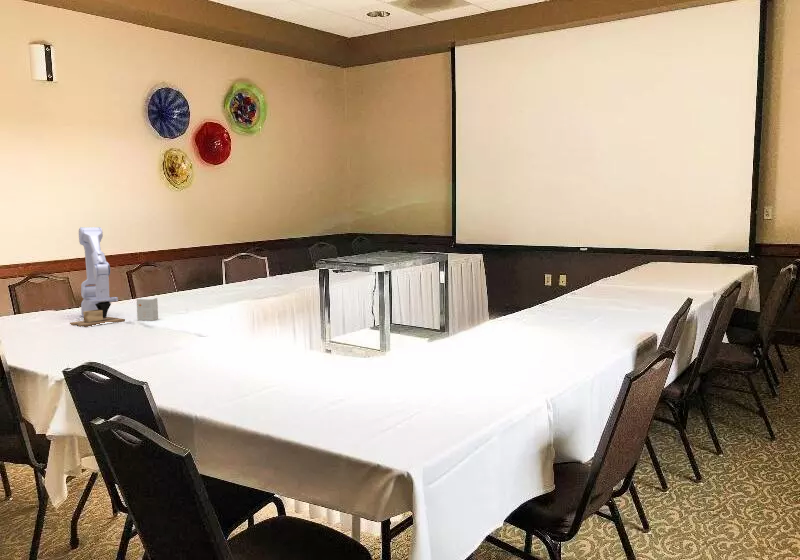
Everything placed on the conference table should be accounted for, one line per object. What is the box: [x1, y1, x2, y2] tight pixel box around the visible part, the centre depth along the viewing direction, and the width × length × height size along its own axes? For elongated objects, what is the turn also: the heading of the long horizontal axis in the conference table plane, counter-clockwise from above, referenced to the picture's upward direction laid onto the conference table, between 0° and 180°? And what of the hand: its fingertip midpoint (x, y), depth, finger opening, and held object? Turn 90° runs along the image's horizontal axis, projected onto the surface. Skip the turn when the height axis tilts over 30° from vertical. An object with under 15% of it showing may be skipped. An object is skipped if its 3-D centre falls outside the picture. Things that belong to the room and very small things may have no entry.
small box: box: [136, 297, 159, 322], centre depth 315 cm, size 8×6×10 cm
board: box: [69, 316, 126, 328], centre depth 305 cm, size 12×20×1 cm, turn 149°
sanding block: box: [83, 310, 103, 323], centre depth 303 cm, size 4×7×5 cm, turn 149°
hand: (103, 318), depth 308 cm, fingers closed
